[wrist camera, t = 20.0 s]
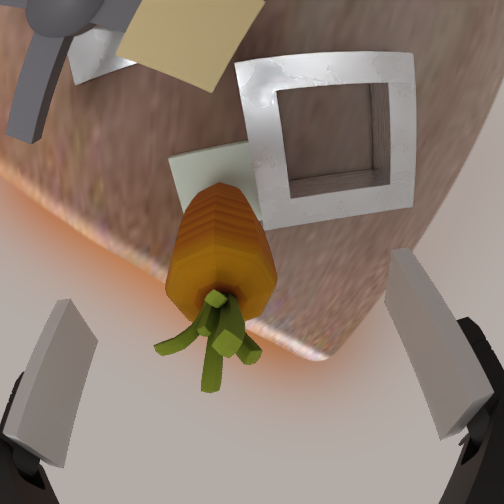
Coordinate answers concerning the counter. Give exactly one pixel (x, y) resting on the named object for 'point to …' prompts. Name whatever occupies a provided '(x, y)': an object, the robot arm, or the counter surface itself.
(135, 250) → the counter surface
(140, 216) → the counter surface
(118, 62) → the square base pedestal
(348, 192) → the gray square frame
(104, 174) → the counter surface
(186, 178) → the pad
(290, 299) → the counter surface
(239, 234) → the carrot
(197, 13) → the handwheel
